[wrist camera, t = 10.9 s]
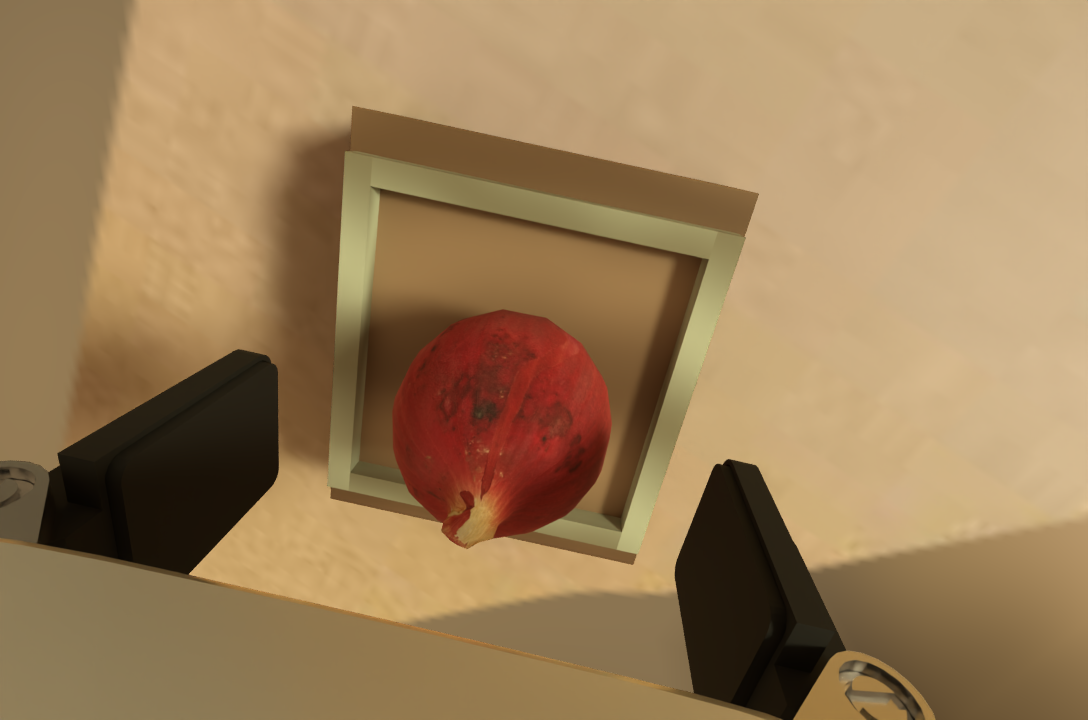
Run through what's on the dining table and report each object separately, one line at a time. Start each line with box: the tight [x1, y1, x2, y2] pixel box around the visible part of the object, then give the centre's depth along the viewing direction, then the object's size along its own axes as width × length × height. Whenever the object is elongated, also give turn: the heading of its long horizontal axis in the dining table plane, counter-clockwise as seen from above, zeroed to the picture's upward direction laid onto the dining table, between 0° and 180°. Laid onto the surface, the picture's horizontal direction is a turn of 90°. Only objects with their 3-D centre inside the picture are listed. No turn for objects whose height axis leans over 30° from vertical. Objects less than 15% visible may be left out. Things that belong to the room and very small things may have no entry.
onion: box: [392, 309, 612, 549], centre depth 14 cm, size 6×6×8 cm
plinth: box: [327, 106, 759, 565], centre depth 19 cm, size 14×12×5 cm
